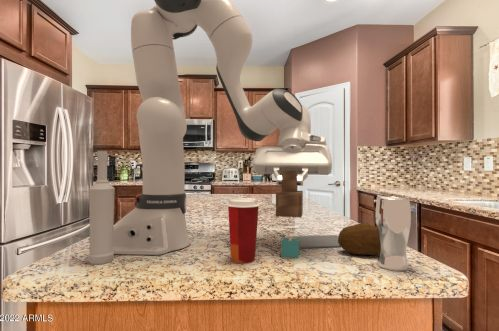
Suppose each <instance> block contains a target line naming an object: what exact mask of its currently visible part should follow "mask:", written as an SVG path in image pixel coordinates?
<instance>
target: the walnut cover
mask: <svg viewBox="0 0 499 331" xmlns="http://www.w3.org/2000/svg"><path fill="white" fill-rule="evenodd" d="M281 176H282V185H281V190H277V191H275V217H277V218H278V217H279V218H280V217H281V218H284V217H285V218H302V216H303V214H304V211H303V208H304V207H303V206H304V205H303V202H304V200H303V197H304V196H303V194H304V191H303V190H298V185H297V176H299V174H298V170H282V174H281Z"/></svg>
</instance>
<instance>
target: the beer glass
mask: <svg viewBox="0 0 499 331" xmlns="http://www.w3.org/2000/svg"><path fill="white" fill-rule="evenodd" d="M410 201H411V198H408V197H405V196H403V197H401V196H386V195H385V196H376V202H375V203H376V206H375V225H376V228H377V234H378V239H379V247H380V251H379V254H378V258H377V266H378V267H380V268H382V269H384V270H389V271H394V272H404V271H407V270H409V263H408V258H407V257H408V256H407V247H408V243H409V236H410V231H411V224H412V214H411V213H412V211H411V202H410Z"/></svg>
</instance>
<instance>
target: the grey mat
mask: <svg viewBox="0 0 499 331" xmlns="http://www.w3.org/2000/svg"><path fill="white" fill-rule="evenodd" d="M338 236H339V235H337V234H333V235H332V234H330V235H295V236H290V235H289V236H287V237H294V238H299V250H301V249H322V248H323V249H327V248H328V249H330V248H342V247H341V246H340V245H339V243H338Z"/></svg>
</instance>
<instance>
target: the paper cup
mask: <svg viewBox="0 0 499 331" xmlns="http://www.w3.org/2000/svg"><path fill="white" fill-rule="evenodd" d="M259 206H261V205H260V203H259V200H258V199H257V198H248V197H239V198H238V197H237V198H235V197H234V198H229V200H227V204H226V207H228V209H227V210H228V212H227V213H228V227H229V228H228V229H229V230H228V231H229V248H230V250H229V251H230V260H231V262H233V263H236V264H249V263H252V262H255V260H256V251H257V250H256V249H257V234H258V220H259Z"/></svg>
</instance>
